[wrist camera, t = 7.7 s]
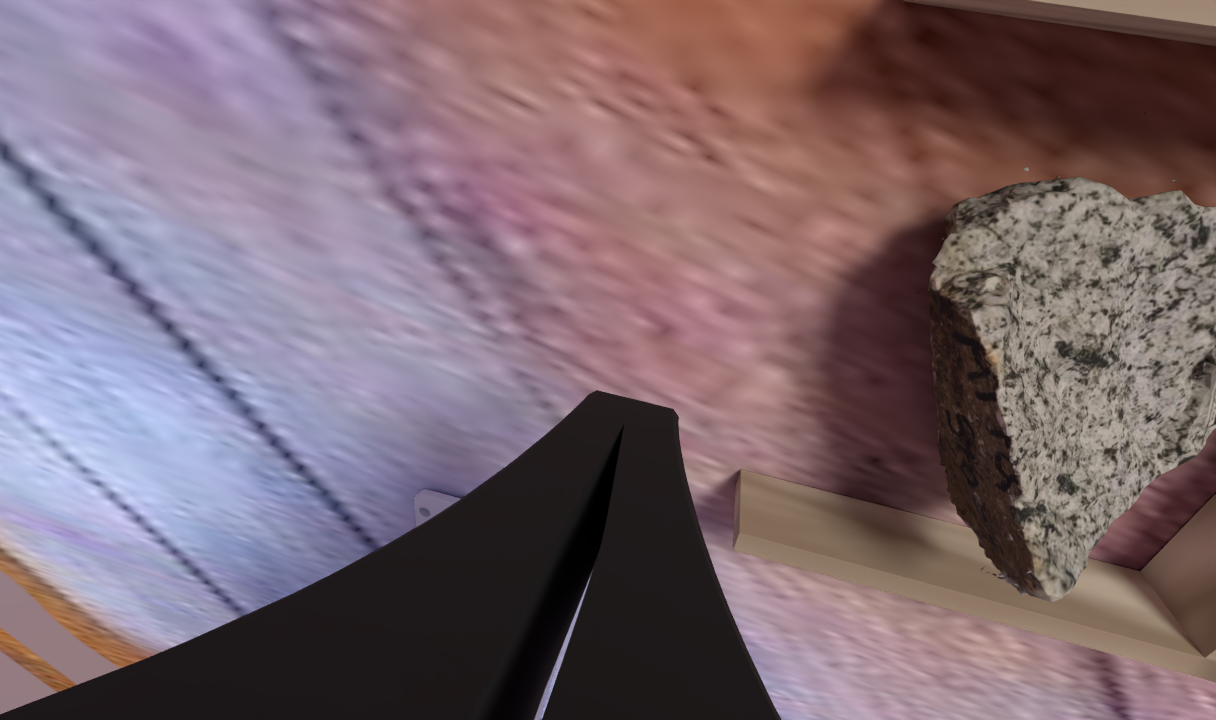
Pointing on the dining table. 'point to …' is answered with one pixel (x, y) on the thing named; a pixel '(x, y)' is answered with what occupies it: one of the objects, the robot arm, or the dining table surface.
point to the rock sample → (1068, 364)
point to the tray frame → (949, 553)
